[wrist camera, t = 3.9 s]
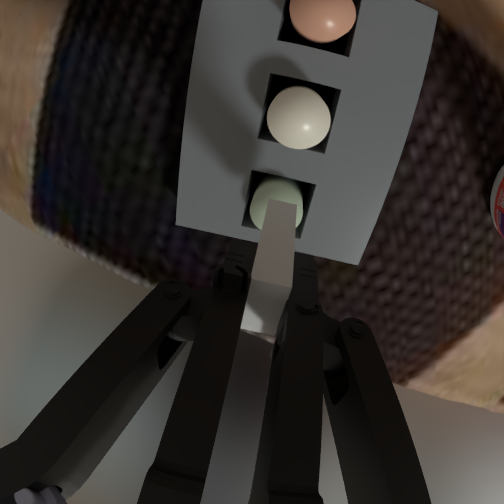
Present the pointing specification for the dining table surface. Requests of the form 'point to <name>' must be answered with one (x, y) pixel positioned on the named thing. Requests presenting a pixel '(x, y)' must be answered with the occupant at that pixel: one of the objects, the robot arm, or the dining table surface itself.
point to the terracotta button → (322, 19)
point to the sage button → (275, 196)
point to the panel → (310, 159)
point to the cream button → (298, 117)
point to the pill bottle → (498, 202)
